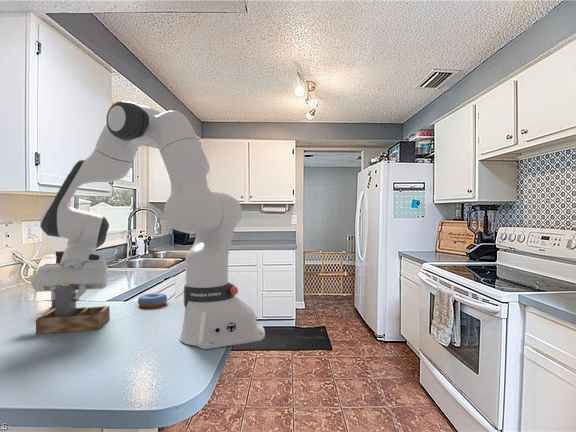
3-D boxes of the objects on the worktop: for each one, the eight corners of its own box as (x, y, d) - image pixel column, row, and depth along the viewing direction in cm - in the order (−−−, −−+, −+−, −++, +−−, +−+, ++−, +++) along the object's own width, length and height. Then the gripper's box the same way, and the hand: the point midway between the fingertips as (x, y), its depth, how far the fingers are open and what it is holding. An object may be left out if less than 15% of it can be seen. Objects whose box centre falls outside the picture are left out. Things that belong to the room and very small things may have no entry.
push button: (75, 314, 107) (75, 281, 106) (70, 318, 103) (70, 284, 103) (61, 315, 106) (60, 282, 106) (55, 319, 102) (54, 284, 102)
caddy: (109, 318, 112) (109, 305, 112) (98, 329, 101) (98, 315, 101) (53, 322, 108) (53, 309, 108) (35, 333, 98) (35, 319, 98)
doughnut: (152, 309, 121) (153, 295, 122) (131, 308, 125) (131, 294, 126) (172, 305, 131) (173, 292, 131) (152, 304, 134) (152, 292, 135)
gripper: (36, 258, 109) (20, 297, 99) (108, 256, 113) (99, 293, 103) (43, 270, 113) (28, 308, 103) (112, 267, 117) (104, 304, 108)
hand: (64, 300), depth 103 cm, fingers closed on push button, 4 cm apart
